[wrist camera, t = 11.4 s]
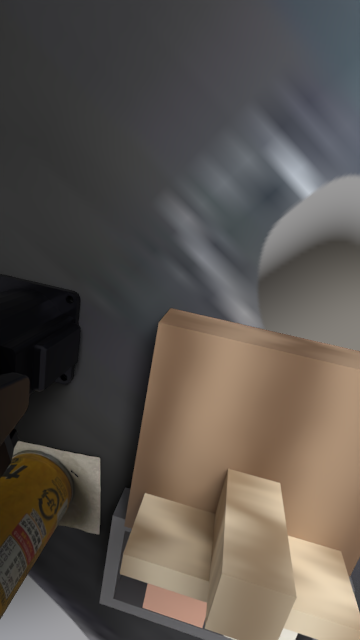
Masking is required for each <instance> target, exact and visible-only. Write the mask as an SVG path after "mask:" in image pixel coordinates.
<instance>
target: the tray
mask: <svg viewBox="0 0 360 640" xmlns="http://www.w3.org/2000/svg"><path fill="white" fill-rule="evenodd" d="M129 495H130V489H129V488H126V487H125V489H124V491H123V493H122V496H121V498H120V500H119V502H118V505H117V507H116V509H115V511H114V514H113V517H112V524H111V530H110V537H109V543H108V550H107V556H106V563H105V569H104V576H103V582H102V589H101V595H100V602H99V603H100V604H103V605H106V606H109V607H112V608H115V609H118V610H121V611H124V612H126V613H129V614H132V615H135V616H138V617H141V618H144V619H147V620H150V621H152V622H155V623H158V624H161V625H164V626H167V627H170V628H173V629H175V630H178V631H181V632H184V633H187V634H190V635H193V636H196V637H199V638H201V639H204V640H233V639H231V638H228V637H225V636H224V635H222V634H219V633H216V632H213V631H210V630H207V629H205V621H204V624H203V627H202V628H200V627H197V626H194V625H191V624H188V623H186V622H183V621H180V620H177V619H174V618H171V617H168V616H165V615H162V614H159V613H156V612H153V611H150V610H147V609H144V608H142V607H143V603H144V598H145V593H146V588H147V584H148V583H146V582H143V581H140V580H137V579H134V578H131V577H127V576H124V575H121V574H120V569H121V563H122V558H123V553H124V550H125V547H126V544H127V542H128V539H129V536H130V533H131V531H132V529H131V528H128V527H125V526H124V524H125V519H126V513H127V507H128V501H129ZM349 579H350V583H351V586H352V589H353V593H354V592H355V589H354V586H353V582H352V579H351V576H350V577H349ZM205 620H206V617H205ZM295 640H317V639H314V638H311V637H308V636H305V635H302V634H299V633H298V634H297V637H296V639H295Z"/></svg>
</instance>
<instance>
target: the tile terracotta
mask: <svg viewBox="0 0 360 640" xmlns="http://www.w3.org/2000/svg"><path fill="white" fill-rule="evenodd" d="M142 608H144V609H147V610H150V611H153V612H156V613H159V614H162V615H165V616H168V617H171V618H174V619H177V620H180V621H183V622H186V623H188V624H191V625H194V626H197V627H200V628H202V627H203V624H204V621H205V617H206V609H207V603H206V602H203V601H200V600H197V599H194V598H191V597H188V596H185V595H182V594H179V593H176V592H173V591H170V590H167V589H164V588H161V587H158V586H155V585H152V584H149V583H148V584H147V588H146V593H145V598H144V603H143V607H142Z"/></svg>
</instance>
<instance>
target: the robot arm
mask: <svg viewBox="0 0 360 640" xmlns="http://www.w3.org/2000/svg"><path fill="white" fill-rule="evenodd" d="M69 296H71V297H72V298H73V300H74V301H73V302H71V301H70V300H69ZM79 308H80V296H79V294H78V293H77V292H75V291H72V290H68V289H63V288H59V287H55V286H50V285H46V284H42V283H37V282H33V281H28V280H24V279H20V278H15V277H11V276H7V275H2V274H0V478H1V477H2V475H3V474H4V472H5V471H6V469H7V468H8V466H9V465H10V463H11V461H12V457H13V452H14V448H15V446H16V444H17V442H18V440H19V438H18V434H17V431H16V429H13V428H14V427H15V425H16V424H17V423H18V421H19V420H20V419H21V417H22V416H23V415H24V413H25V412H26V410H27V408H28V404H29V396H30V395H31V394H32V393H33V392H34V391H38V392H41V391H43V390H45V389H46V388H47V387H48V386H49V385H51V384H52V383H53V382H58V383H61V384H68V383H69V382H70V381H71V380H72V379H73V377H74V365H75V363H77V361H78V352H79V341H80V329H81V328H80V326H79V324H78V319H79ZM63 374H65V375H66V376H67V378H65V377H64V375H63Z"/></svg>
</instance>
